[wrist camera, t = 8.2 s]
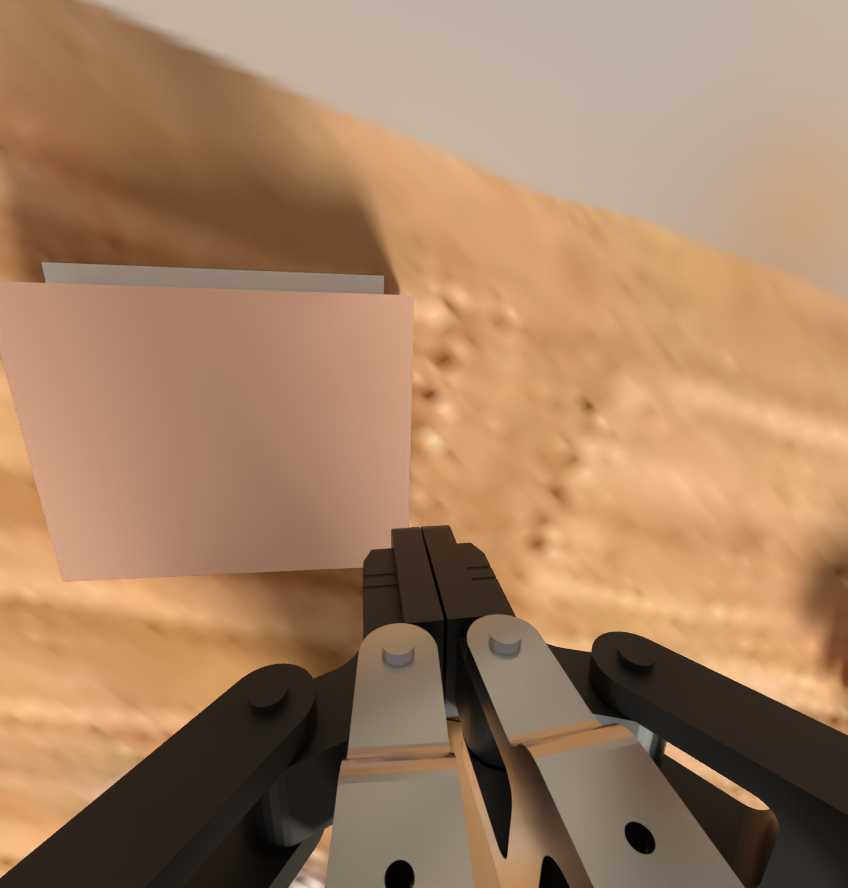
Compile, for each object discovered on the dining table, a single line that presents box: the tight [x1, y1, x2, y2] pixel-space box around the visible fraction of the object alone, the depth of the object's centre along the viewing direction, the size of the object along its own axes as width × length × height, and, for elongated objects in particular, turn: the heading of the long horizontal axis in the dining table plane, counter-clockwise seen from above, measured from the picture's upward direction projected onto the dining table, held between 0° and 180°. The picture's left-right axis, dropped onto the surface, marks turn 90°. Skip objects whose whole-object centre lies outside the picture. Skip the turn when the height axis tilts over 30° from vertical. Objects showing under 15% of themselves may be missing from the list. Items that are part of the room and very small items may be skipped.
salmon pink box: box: [0, 281, 414, 582], centre depth 21 cm, size 5×13×16 cm
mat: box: [41, 262, 384, 294], centre depth 24 cm, size 16×15×1 cm
